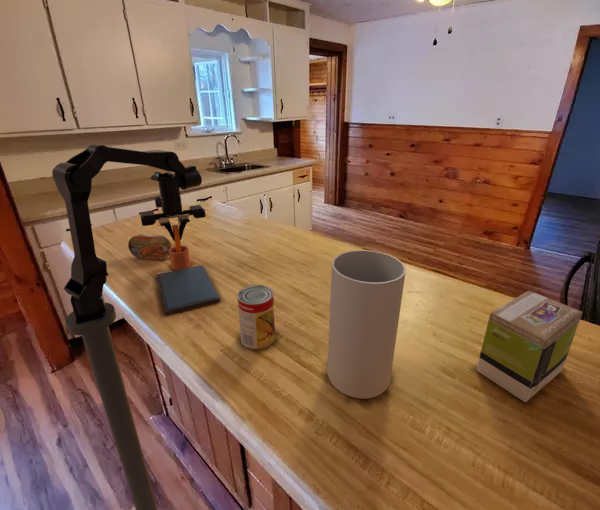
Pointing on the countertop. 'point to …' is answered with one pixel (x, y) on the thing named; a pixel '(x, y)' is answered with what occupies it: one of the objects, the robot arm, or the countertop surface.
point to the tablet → (186, 289)
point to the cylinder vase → (363, 321)
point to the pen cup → (180, 258)
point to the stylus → (177, 238)
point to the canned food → (256, 316)
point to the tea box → (527, 343)
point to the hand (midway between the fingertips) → (177, 240)
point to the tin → (149, 246)
